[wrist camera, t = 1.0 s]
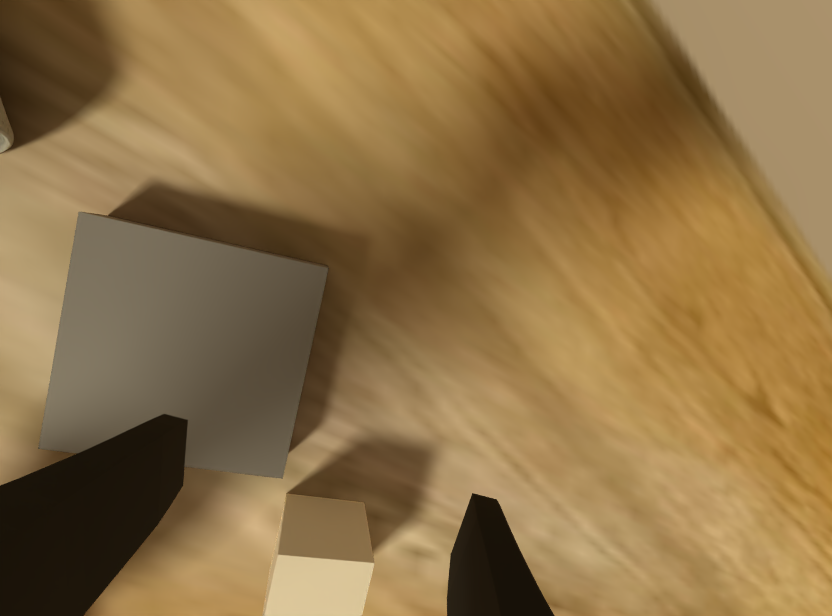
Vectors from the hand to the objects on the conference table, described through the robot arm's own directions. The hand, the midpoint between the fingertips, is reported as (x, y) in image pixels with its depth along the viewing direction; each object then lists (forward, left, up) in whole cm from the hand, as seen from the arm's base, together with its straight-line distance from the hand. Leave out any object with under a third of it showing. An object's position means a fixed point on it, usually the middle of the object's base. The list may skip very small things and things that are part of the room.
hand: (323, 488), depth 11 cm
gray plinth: (-1, +7, -17) cm, 19 cm away
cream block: (-12, -2, -17) cm, 21 cm away
